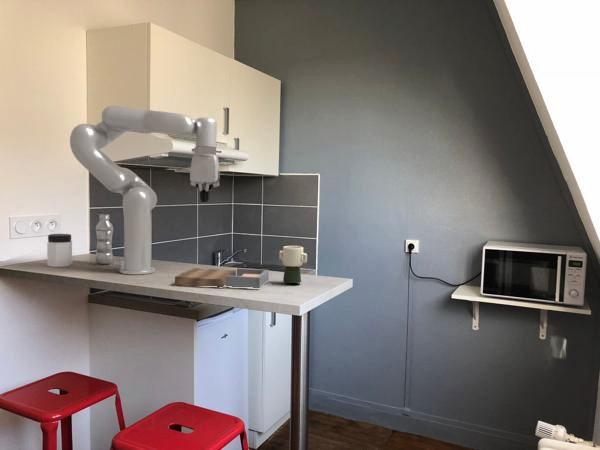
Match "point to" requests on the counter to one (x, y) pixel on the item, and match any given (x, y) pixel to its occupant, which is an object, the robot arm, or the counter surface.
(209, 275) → the platform
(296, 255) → the character mug
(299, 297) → the counter surface
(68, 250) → the jar
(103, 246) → the plastic bottle
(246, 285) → the box
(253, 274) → the orange block
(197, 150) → the robot arm
